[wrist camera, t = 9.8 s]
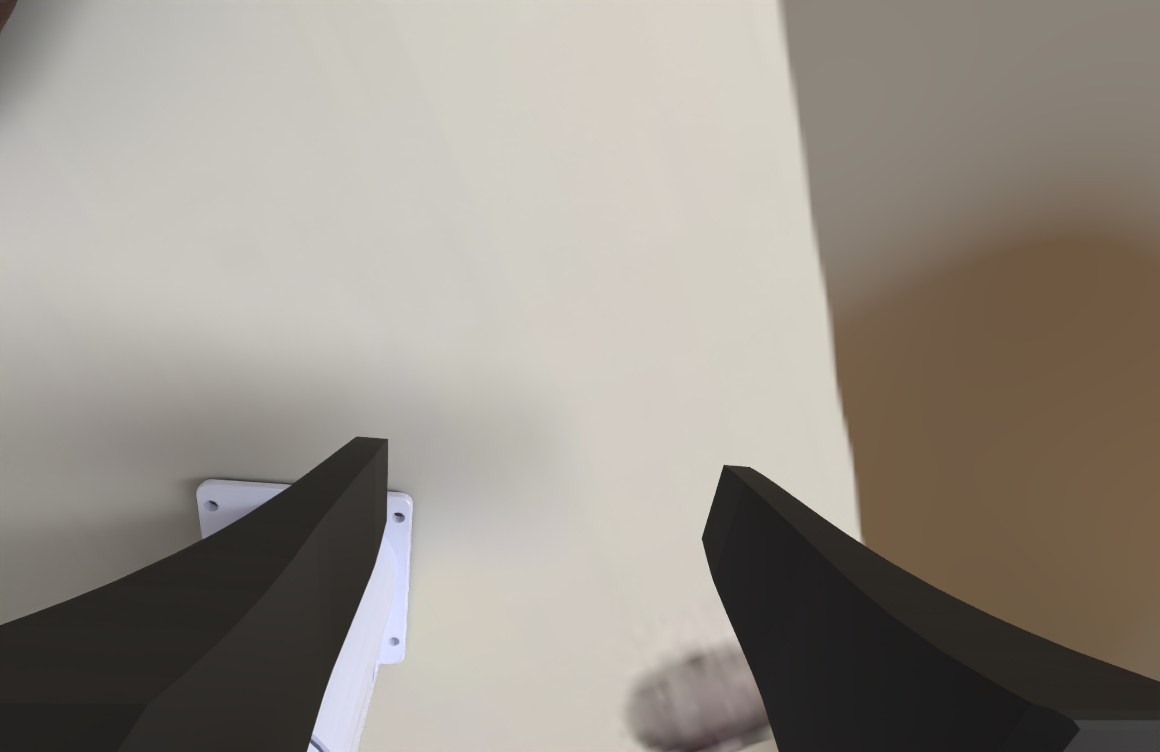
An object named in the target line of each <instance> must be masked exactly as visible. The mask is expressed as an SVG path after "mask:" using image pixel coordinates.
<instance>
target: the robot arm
mask: <svg viewBox="0 0 1160 752" xmlns="http://www.w3.org/2000/svg"><path fill="white" fill-rule="evenodd" d="M387 476H388V439H380V438H367V437H356V438H354V439H353V440H351V441H350V442H349V443H347V444H346V445H345V446H343V447H342V448H341V449H339V450H338V451H337V452H335V453H334V454H333V455H331V456H330V457H329V458H327V459H326V460H325V461H323V462H322V463H321V464H319V465H318V466H317V467H315V468H314V469H313V470H311V471H310V472H309V473H307V474H306V475H305V476H303V477H302V478H300V479H299V480H298V481H296V482H295V483H293V484H292V485H288V484H273V483H259V482H245V481H230V480H216V479H210V480H206V481H204V482H203V483H202V484H201V485H200V486H199V487H198V488H197V490H196V498H197V505H198V512H199V520H200V527H201V534H202V540H201V541H199V542H197V543H195V544H193V545H191V546H189V547H187V548H185V549H183V550H181V551H179V552H177V553H175V554H173V555H171V556H169V557H167V558H164V559H162V560H160V561H158V562H156V563H154V564H151V565H149V566H147V567H145V568H143V569H140V570H138V571H136V572H134V573H132V574H130V575H127V576H125V577H123V578H121V579H119V580H117V581H114V582H112V583H110V584H107V585H105V586H102V587H100V588H97V589H95V590H92V591H90V592H88V593H85V594H83V595H80V596H78V597H75V598H73V599H70V600H68V601H65V602H62V603H60V604H57V605H54V606H52V607H49V608H46V609H44V610H41V611H38V612H36V613H33V614H30V615H28V616H25V617H22V618H19V619H16V620H14V621H11V622H8V623H5V624H2V625H0V752H357V750H358V746H359V742H360V738H361V734H362V731H363V727H364V723H365V719H366V715H367V712H368V708H369V704H370V700H371V696H372V693H373V689H374V685H375V681H376V677H377V674H378V670H379V666H380V664H397V663H399V662H401V661H402V660H403V659H404V655H405V650H406V630H407V610H408V591H409V571H410V551H411V531H412V511H413V501H412V499H411V497H410V496H409V495H407V494H406V493H401V492H388V491H387ZM209 500H211V501H214V502H216V503H217V505H213V504H212V503H210V501H209ZM398 512H399V513H402V514H403V515H404V516H403V517H399V516H396V515H395V514H394V513H398ZM702 541H703V545H704V549H705V553H706V557H707V561H708V565H709V568H710V572H711V575H712V578H713V581H714V584H715V586H716V589H717V591H718V594H719V596H720V598H721V601H722V603H723V606H724V608H725V610H726V613H727V615H728V618H729V620H730V622H731V625H732V627H733V629H734V632H735V634H736V636H737V638H738V641H739V643H740V645H741V648H742V650H743V652H744V655H745V657H746V659H747V662H748V664H749V666H750V669H751V671H752V673H753V676H754V678H755V681H756V684H757V686H758V689H759V692H760V694H761V697H762V700H763V703H764V706H765V709H766V712H767V715H768V719H769V722H770V725H771V728H772V731H773V734H774V738H775V741H776V744H777V747H778V750H779V752H1160V682H1159V681H1156V680H1153V679H1151V678H1148V677H1145V676H1142V675H1140V674H1137V673H1134V672H1131V671H1128V670H1126V669H1123V668H1120V667H1118V666H1115V665H1112V664H1109V663H1106V662H1104V661H1101V660H1098V659H1096V658H1093V657H1090V656H1087V655H1084V654H1082V653H1079V652H1076V651H1074V650H1071V649H1069V648H1066V647H1064V646H1061V645H1059V644H1056V643H1054V642H1052V641H1049V640H1047V639H1045V638H1042V637H1040V636H1037V635H1035V634H1033V633H1030V632H1028V631H1025V630H1023V629H1021V628H1018V627H1016V626H1014V625H1012V624H1010V623H1007V622H1005V621H1003V620H1001V619H998V618H996V617H994V616H992V615H989V614H988V613H986V612H984V611H981V610H979V609H977V608H975V607H973V606H971V605H969V604H967V603H965V602H963V601H961V600H959V599H957V598H955V597H953V596H951V595H949V594H947V593H945V592H943V591H941V590H939V589H937V588H935V587H933V586H932V585H930V584H928V583H926V582H924V581H922V580H921V579H919V578H917V577H916V576H914V575H912V574H910V573H909V572H907V571H905V570H903V569H902V568H900V567H898V566H896V565H894V564H893V563H891V562H889V561H888V560H886V559H885V558H883V557H881V556H879V555H878V554H876V553H875V552H873V551H872V550H870V549H869V548H867V547H866V546H864V545H863V544H861V543H860V542H858V541H856V540H855V539H853V538H852V537H850V536H849V535H847V534H846V533H844V532H843V531H841V530H840V529H839V528H837V527H836V526H834V525H833V524H831V523H830V522H828V521H827V520H826V519H824V518H823V517H821V516H820V515H819V514H817V513H816V512H814V511H813V510H811V509H810V508H809V507H807V506H806V505H805V504H803V503H802V502H800V501H799V500H798V499H796V498H795V497H793V496H792V495H791V494H789V493H788V492H787V491H785V490H784V489H782V488H781V487H780V486H778V485H777V484H775V483H774V482H772V481H771V480H770V479H768V478H767V477H765V476H764V475H762V474H761V473H759V472H757V471H756V470H754V469H752V468H750V467H742V466H729V465H724V466H723V469H722V473H721V476H720V479H719V483H718V486H717V489H716V493H715V496H714V499H713V503H712V506H711V509H710V513H709V516H708V519H707V523H706V526H705V529H704V533H703V536H702ZM393 637H394V638H393Z"/></svg>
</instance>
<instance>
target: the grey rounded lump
mask: <svg viewBox="0 0 1160 752" xmlns="http://www.w3.org/2000/svg"><path fill="white" fill-rule="evenodd" d="M16 2H17V0H0V32H1V30H2V29H3V27H4V25H5V23H6V22H7V20H8V18H9V17H10V15H11V13H12V11H13V9H14V7H15V5H16Z"/></svg>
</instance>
